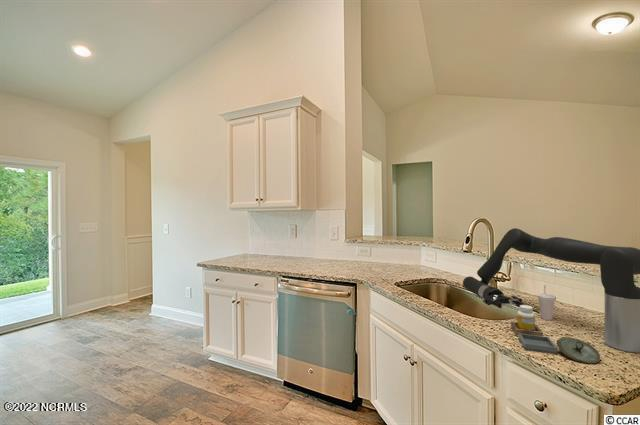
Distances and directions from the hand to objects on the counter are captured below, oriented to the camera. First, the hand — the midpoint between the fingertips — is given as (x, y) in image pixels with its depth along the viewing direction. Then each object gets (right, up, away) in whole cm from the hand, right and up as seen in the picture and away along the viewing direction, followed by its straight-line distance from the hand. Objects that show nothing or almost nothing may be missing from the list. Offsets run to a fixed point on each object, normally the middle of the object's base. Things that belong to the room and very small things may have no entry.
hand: (511, 305), depth 121 cm
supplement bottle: (0, -7, -9) cm, 12 cm away
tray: (-5, -7, -20) cm, 22 cm away
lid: (+3, -7, -27) cm, 29 cm away
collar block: (0, -7, -9) cm, 11 cm away
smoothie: (+18, -7, +4) cm, 19 cm away
